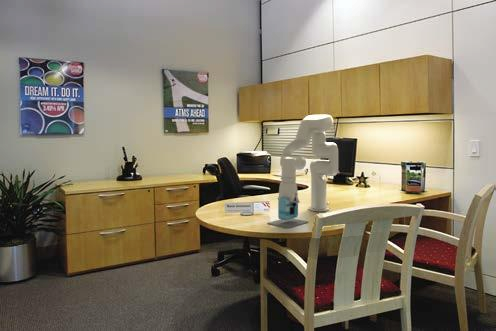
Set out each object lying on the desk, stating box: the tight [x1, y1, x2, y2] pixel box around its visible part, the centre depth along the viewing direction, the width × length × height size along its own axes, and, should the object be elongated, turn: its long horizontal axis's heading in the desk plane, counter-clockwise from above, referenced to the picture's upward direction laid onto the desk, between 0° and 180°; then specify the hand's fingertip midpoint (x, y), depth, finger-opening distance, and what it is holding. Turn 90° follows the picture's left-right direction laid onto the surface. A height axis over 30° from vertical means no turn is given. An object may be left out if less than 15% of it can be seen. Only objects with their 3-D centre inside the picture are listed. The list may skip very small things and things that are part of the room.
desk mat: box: [267, 218, 309, 229], centre depth 214 cm, size 18×14×1 cm
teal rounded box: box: [277, 197, 299, 220], centre depth 213 cm, size 12×4×12 cm, turn 137°
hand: (288, 213), depth 214 cm, fingers closed on teal rounded box, 4 cm apart
